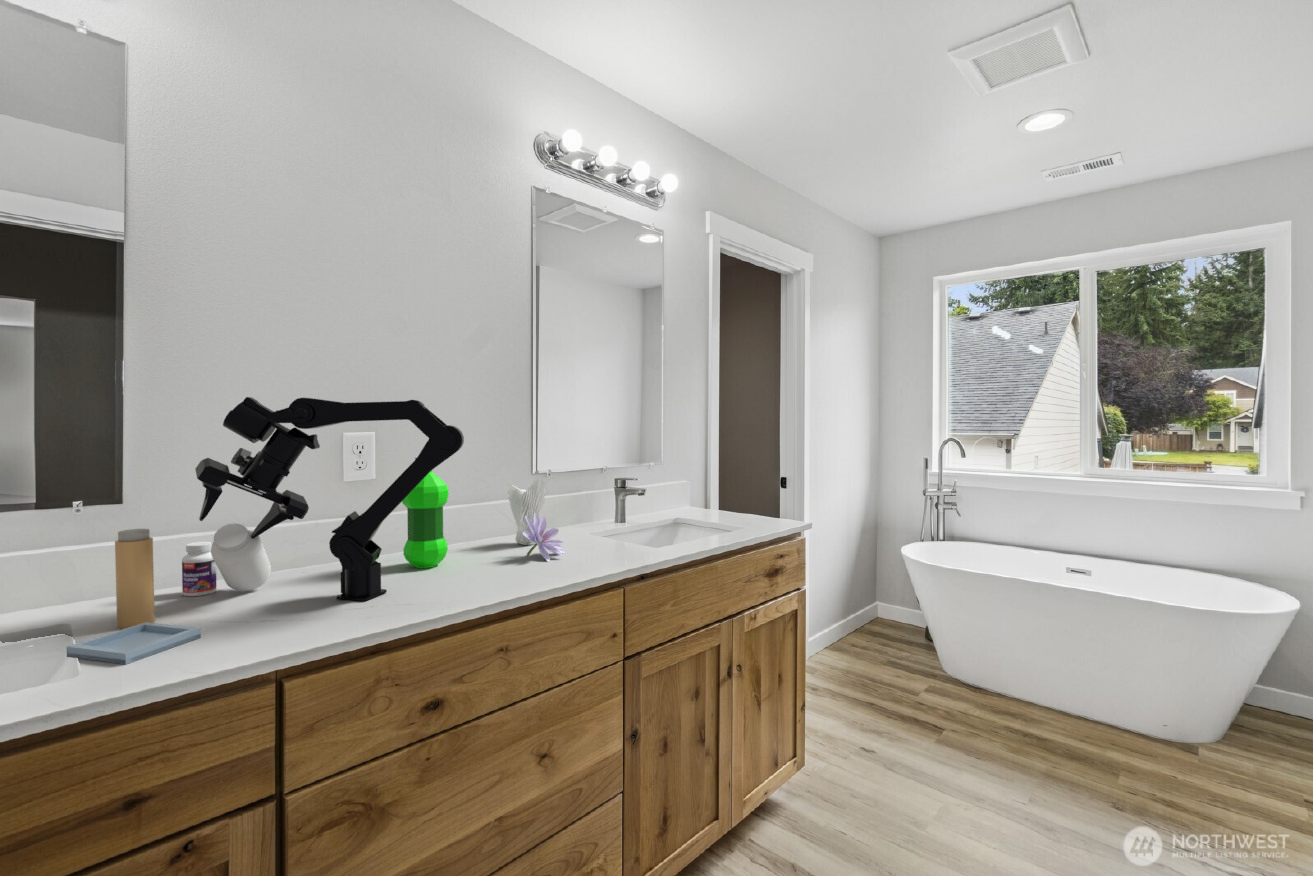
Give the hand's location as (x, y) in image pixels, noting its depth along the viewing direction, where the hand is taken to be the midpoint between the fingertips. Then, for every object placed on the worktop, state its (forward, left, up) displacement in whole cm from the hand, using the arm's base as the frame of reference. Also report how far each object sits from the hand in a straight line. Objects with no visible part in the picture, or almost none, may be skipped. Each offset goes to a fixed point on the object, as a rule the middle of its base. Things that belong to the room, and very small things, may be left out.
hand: (226, 528), depth 114 cm
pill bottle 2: (+5, -10, -11) cm, 16 cm away
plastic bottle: (-17, -36, -14) cm, 42 cm away
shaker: (+5, +12, -14) cm, 19 cm away
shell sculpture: (-29, -64, -14) cm, 71 cm away
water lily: (-40, -51, -14) cm, 66 cm away
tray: (-6, +20, -14) cm, 25 cm away
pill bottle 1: (+12, -5, -14) cm, 19 cm away
